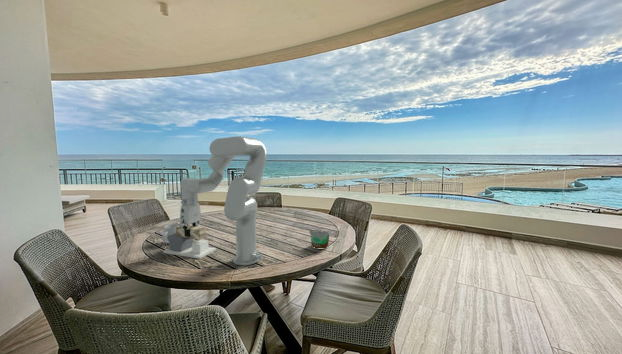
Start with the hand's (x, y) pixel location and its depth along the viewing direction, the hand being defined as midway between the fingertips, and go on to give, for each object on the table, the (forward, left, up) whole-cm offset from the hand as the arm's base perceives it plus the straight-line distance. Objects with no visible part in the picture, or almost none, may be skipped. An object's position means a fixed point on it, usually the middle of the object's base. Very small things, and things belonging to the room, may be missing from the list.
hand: (190, 234), depth 125 cm
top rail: (0, 0, -1) cm, 1 cm away
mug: (+21, -6, -9) cm, 24 cm away
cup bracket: (0, 0, -9) cm, 9 cm away
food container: (-64, -26, -9) cm, 70 cm away
